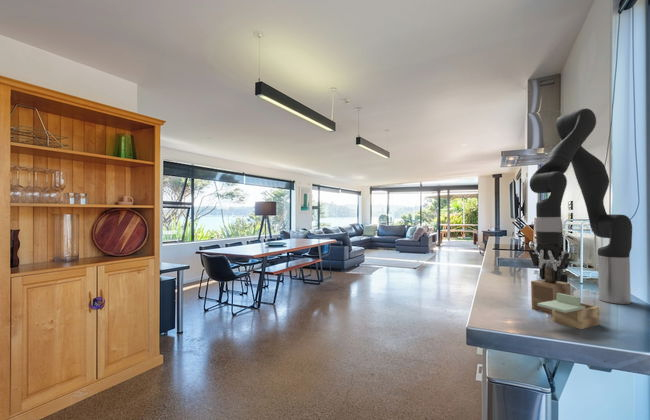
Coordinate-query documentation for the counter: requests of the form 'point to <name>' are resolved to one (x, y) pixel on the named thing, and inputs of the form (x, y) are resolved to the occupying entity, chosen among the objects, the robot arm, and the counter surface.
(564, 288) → the cover
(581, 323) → the oak box
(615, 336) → the counter surface
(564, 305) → the lid
